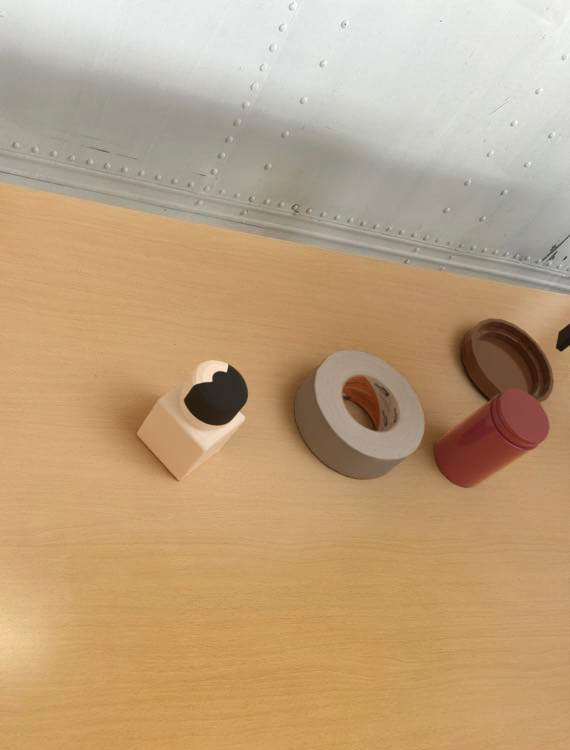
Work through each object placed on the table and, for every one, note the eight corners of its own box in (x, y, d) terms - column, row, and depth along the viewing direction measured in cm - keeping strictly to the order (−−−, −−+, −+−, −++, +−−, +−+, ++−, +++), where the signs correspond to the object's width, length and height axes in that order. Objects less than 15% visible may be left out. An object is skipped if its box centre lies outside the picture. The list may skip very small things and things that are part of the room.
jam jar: (487, 454, 104) (555, 408, 95) (478, 498, 100) (547, 455, 91) (440, 424, 103) (503, 375, 94) (428, 467, 99) (493, 420, 90)
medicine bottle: (219, 450, 88) (269, 392, 78) (178, 482, 84) (226, 425, 74) (176, 404, 89) (221, 340, 78) (134, 434, 85) (175, 371, 75)
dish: (544, 363, 117) (558, 353, 115) (533, 430, 110) (547, 421, 108) (468, 313, 115) (480, 301, 113) (451, 377, 108) (464, 367, 106)
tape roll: (270, 400, 94) (291, 376, 90) (346, 355, 102) (368, 331, 98) (350, 500, 92) (375, 481, 88) (420, 447, 100) (447, 427, 96)
